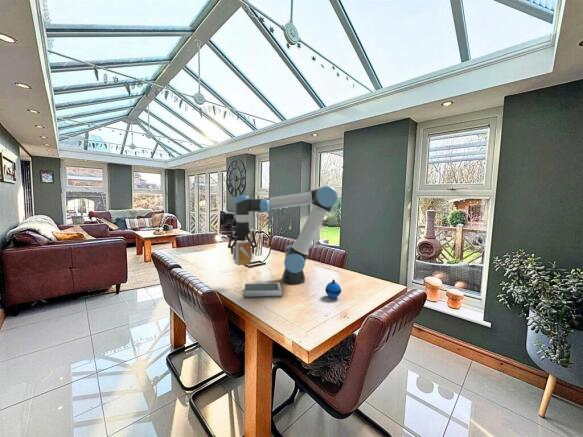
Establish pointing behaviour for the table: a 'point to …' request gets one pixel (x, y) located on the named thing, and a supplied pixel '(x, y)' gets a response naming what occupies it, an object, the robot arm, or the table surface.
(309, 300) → the table surface
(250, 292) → the grey rectangular tray
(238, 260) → the small box
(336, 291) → the ornament
